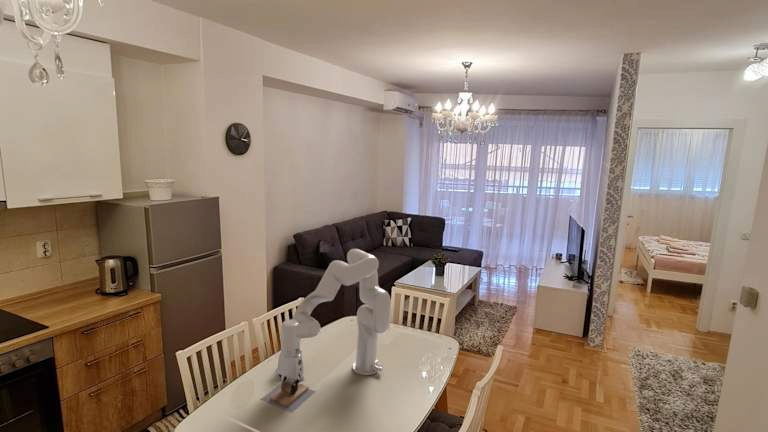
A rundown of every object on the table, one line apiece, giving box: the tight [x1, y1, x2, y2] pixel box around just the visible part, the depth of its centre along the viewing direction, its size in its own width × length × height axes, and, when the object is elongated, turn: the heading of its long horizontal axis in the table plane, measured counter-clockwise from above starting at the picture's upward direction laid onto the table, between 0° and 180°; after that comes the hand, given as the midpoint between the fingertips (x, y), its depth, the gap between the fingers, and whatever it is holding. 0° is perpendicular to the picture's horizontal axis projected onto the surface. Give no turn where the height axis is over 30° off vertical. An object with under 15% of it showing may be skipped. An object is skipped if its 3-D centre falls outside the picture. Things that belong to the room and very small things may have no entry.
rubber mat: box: [260, 383, 317, 413], centre depth 169 cm, size 16×16×1 cm
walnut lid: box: [270, 377, 310, 407], centre depth 169 cm, size 9×14×6 cm, turn 154°
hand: (289, 390), depth 169 cm, fingers closed on walnut lid, 4 cm apart
